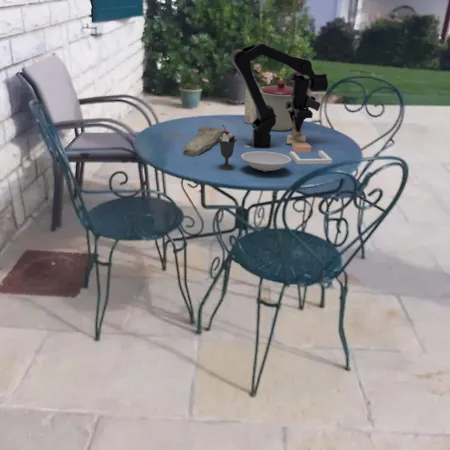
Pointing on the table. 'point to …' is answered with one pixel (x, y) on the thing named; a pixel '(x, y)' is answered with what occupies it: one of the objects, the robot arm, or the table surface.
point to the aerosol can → (250, 108)
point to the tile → (301, 147)
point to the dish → (265, 160)
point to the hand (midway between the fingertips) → (296, 130)
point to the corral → (324, 160)
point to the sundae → (226, 147)
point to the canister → (279, 104)
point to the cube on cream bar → (296, 136)
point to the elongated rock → (203, 140)
